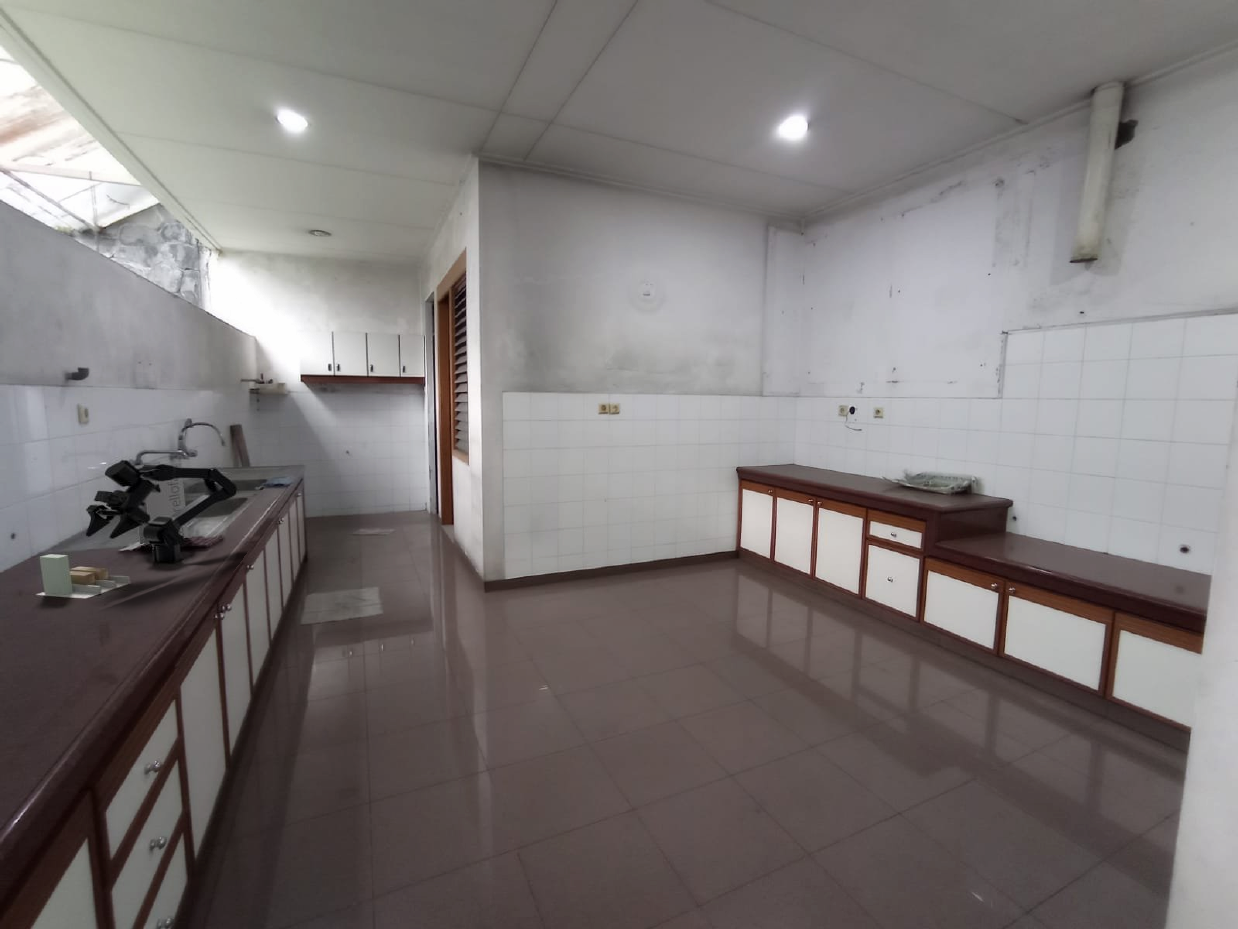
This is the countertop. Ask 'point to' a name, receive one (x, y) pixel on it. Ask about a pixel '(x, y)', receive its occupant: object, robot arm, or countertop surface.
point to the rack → (95, 587)
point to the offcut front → (98, 572)
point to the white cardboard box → (164, 502)
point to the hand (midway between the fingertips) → (98, 537)
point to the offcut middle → (82, 578)
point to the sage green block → (56, 574)
